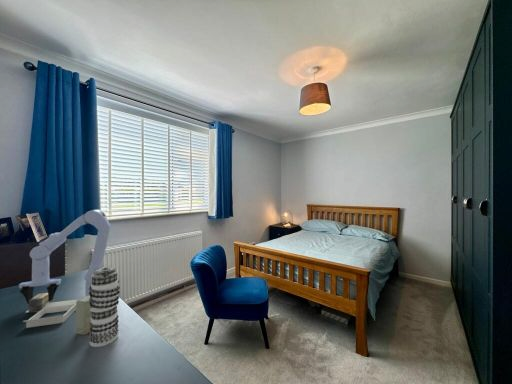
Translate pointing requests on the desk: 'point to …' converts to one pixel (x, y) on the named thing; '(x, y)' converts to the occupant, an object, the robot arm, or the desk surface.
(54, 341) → the desk surface
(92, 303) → the decorative candle
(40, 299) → the block
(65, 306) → the white flat frame
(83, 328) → the skincare box
